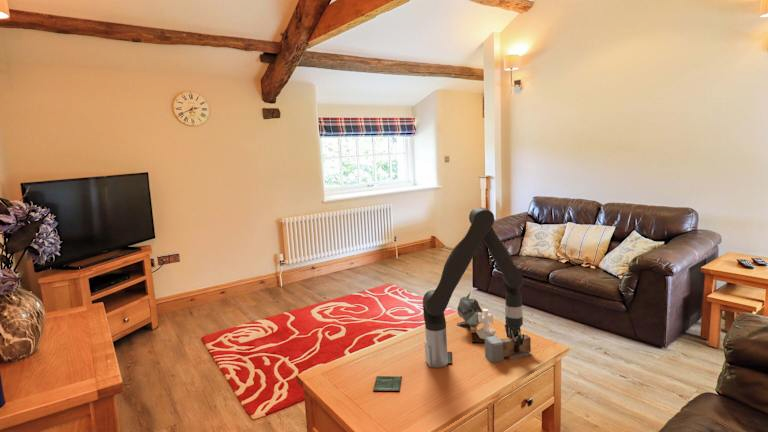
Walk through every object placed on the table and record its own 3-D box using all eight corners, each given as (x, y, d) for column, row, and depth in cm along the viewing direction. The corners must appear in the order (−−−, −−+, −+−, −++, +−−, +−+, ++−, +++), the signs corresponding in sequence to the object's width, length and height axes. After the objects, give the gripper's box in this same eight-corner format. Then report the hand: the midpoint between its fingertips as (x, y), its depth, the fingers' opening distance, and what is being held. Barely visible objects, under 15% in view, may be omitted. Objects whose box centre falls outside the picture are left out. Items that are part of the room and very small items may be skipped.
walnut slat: (502, 357, 192) (502, 342, 191) (498, 353, 195) (498, 339, 194) (530, 352, 195) (530, 337, 193) (526, 348, 198) (526, 334, 197)
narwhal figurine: (456, 335, 218) (455, 301, 215) (457, 323, 233) (455, 291, 230) (485, 335, 216) (484, 301, 213) (483, 323, 230) (482, 291, 228)
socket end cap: (492, 363, 189) (491, 344, 187) (485, 356, 195) (484, 337, 194) (503, 360, 190) (503, 342, 189) (496, 353, 197) (495, 335, 195)
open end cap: (509, 359, 191) (509, 356, 190) (502, 352, 197) (502, 349, 197) (529, 355, 193) (529, 352, 192) (521, 349, 199) (521, 346, 199)
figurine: (498, 337, 213) (497, 308, 211) (485, 343, 208) (484, 314, 205) (486, 332, 219) (485, 304, 216) (474, 338, 213) (473, 310, 211)
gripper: (498, 309, 198) (499, 344, 201) (514, 321, 184) (515, 358, 187) (513, 307, 199) (514, 342, 202) (530, 318, 186) (530, 355, 188)
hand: (514, 349), depth 194 cm, fingers closed on walnut slat, 3 cm apart
